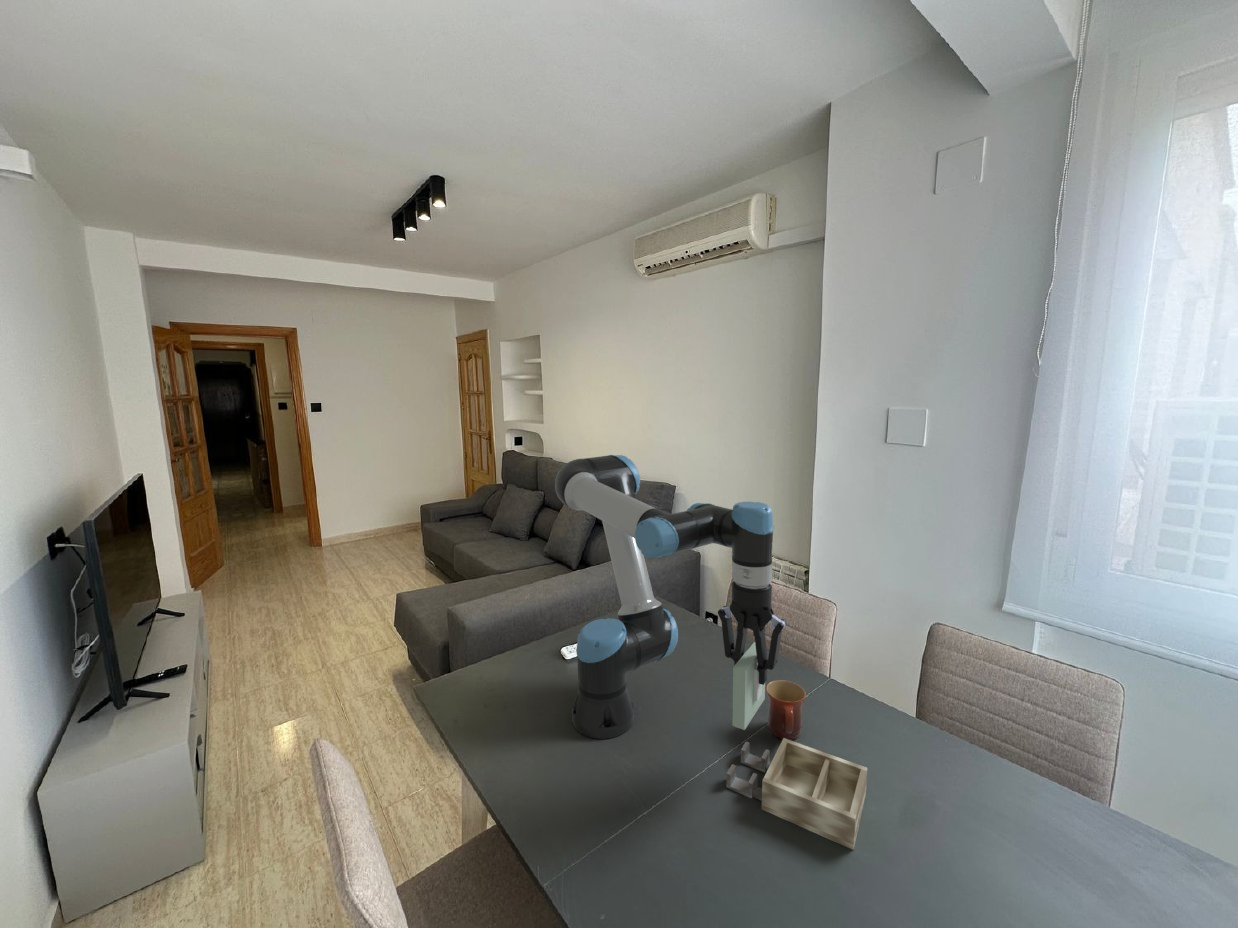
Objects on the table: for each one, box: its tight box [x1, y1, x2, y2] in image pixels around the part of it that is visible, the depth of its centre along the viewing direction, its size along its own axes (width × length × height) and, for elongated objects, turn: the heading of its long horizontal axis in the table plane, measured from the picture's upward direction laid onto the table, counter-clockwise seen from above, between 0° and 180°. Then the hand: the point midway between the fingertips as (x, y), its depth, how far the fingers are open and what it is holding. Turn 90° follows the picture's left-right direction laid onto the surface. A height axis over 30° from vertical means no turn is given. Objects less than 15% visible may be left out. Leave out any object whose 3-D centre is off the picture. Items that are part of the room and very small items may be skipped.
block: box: [732, 641, 766, 731], centre depth 101 cm, size 3×12×12 cm, turn 146°
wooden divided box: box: [726, 738, 868, 851], centre depth 99 cm, size 24×14×6 cm, turn 56°
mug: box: [765, 679, 807, 741], centre depth 115 cm, size 12×9×10 cm
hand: (750, 694), depth 102 cm, fingers closed on block, 2 cm apart
